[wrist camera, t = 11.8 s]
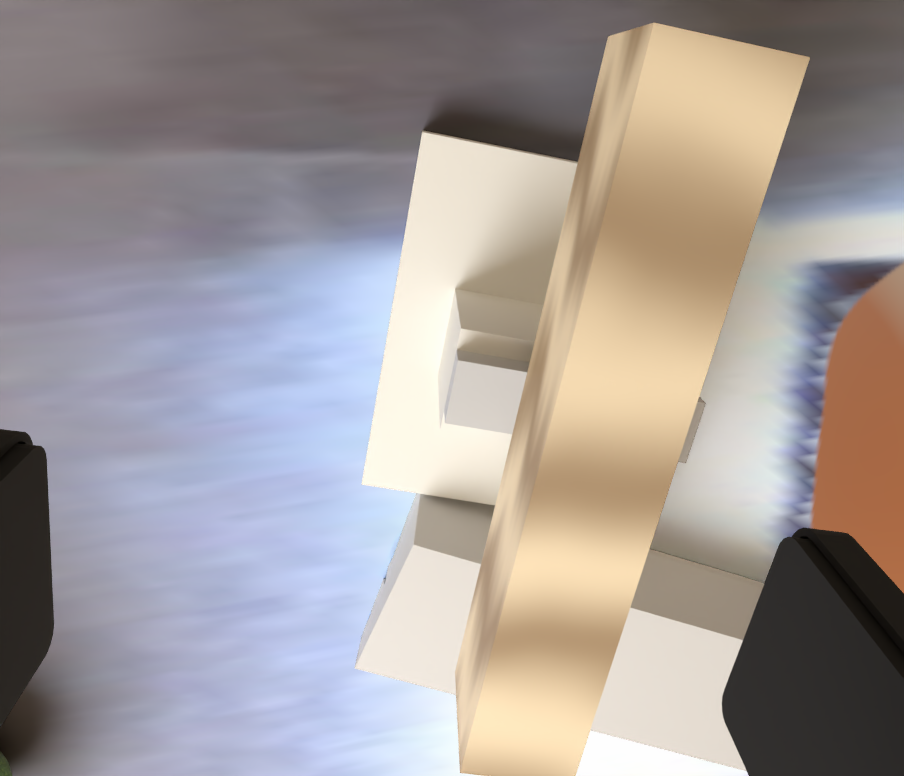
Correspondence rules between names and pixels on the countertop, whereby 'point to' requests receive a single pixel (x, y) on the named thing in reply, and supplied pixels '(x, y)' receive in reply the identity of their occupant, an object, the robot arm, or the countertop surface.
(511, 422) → the balance stand
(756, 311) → the countertop surface
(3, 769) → the fruit
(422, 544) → the white flat block
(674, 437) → the beech batten
